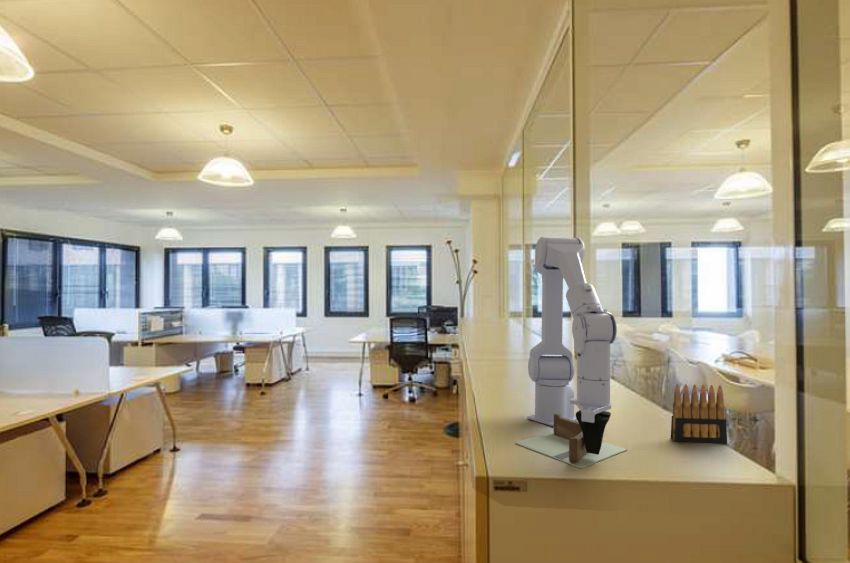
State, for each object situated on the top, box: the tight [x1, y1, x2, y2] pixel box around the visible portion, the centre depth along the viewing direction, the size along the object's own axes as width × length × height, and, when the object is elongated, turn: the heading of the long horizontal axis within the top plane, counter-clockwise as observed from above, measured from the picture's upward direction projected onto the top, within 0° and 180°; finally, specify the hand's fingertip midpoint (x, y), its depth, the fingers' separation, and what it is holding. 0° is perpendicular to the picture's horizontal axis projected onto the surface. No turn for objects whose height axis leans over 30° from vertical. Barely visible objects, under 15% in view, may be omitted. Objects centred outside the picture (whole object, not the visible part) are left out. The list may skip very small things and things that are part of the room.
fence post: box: [553, 414, 582, 439], centre depth 89 cm, size 2×10×4 cm, turn 37°
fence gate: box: [569, 432, 587, 463], centre depth 80 cm, size 11×1×4 cm, turn 142°
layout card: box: [514, 430, 628, 469], centre depth 85 cm, size 16×15×1 cm
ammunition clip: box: [670, 383, 728, 445], centre depth 90 cm, size 11×2×12 cm, turn 88°
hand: (593, 452), depth 79 cm, fingers closed, pressing on fence gate
